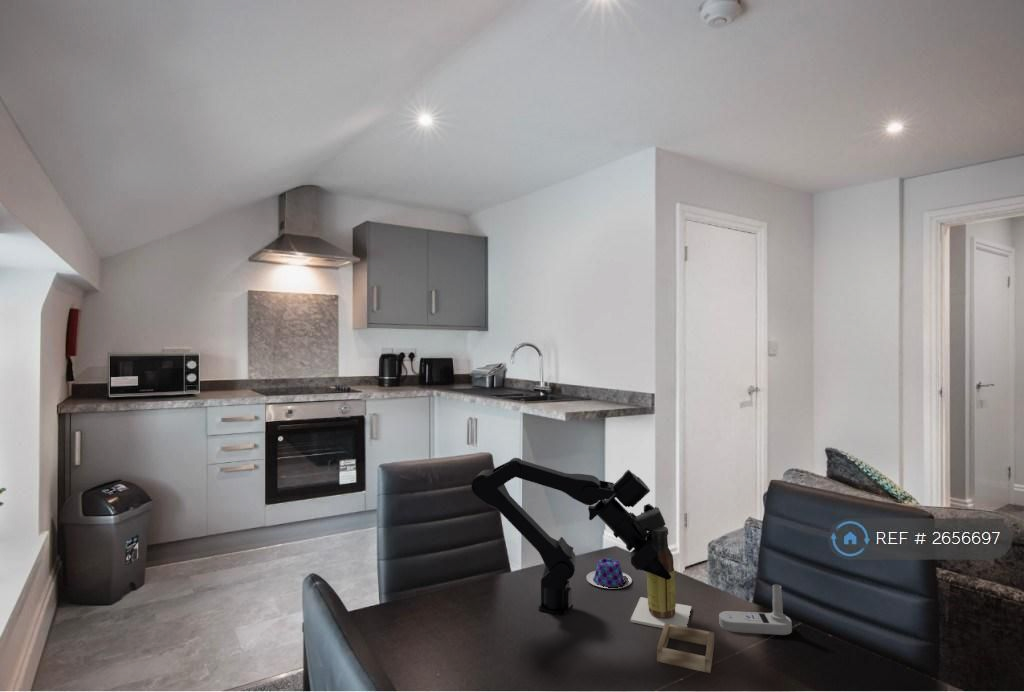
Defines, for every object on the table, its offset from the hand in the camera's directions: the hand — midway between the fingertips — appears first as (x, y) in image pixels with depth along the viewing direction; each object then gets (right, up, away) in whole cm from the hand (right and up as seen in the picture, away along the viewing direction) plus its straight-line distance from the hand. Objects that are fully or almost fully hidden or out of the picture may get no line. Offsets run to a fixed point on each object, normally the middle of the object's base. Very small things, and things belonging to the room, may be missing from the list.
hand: (667, 570), depth 128 cm
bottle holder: (-1, -11, -15) cm, 19 cm away
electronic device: (+18, -11, -6) cm, 22 cm away
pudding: (-10, -11, +19) cm, 25 cm away
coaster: (-1, -11, 0) cm, 11 cm away
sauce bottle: (-1, -10, 0) cm, 10 cm away
